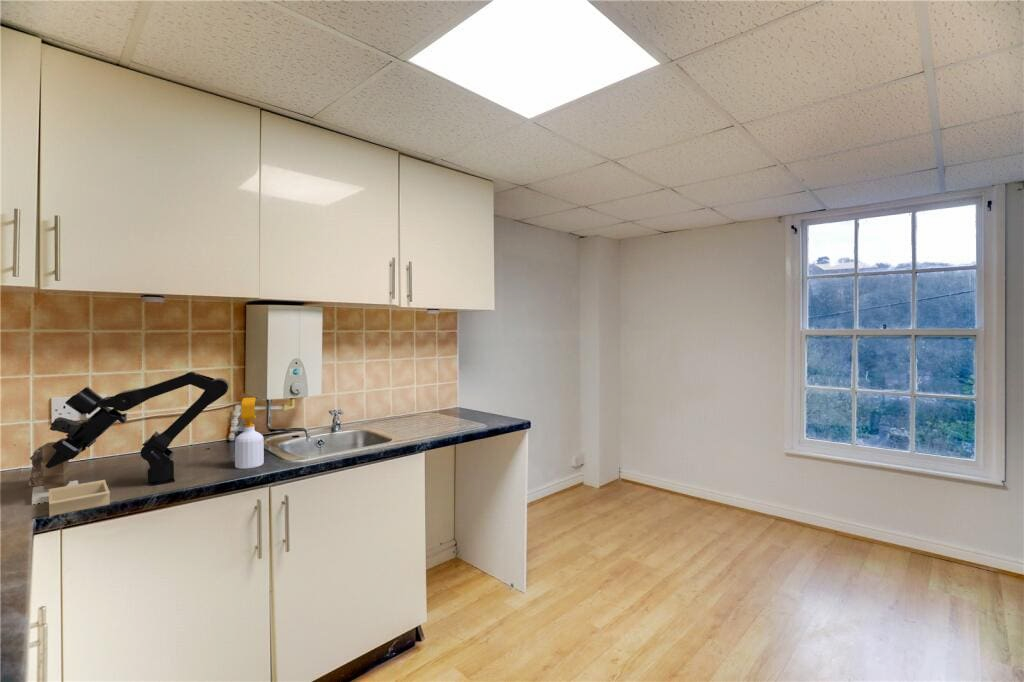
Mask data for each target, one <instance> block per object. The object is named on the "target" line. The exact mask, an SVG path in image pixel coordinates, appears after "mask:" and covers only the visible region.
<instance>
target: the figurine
mask: <svg viewBox="0 0 1024 682" xmlns="http://www.w3.org/2000/svg"><path fill="white" fill-rule="evenodd" d="M42 446H43V445H41V446H39V447H38V448H36V449H35V450H34V451H33V454H32V456H30V457H29V460H31V465H32V466H31V467H32V468H31V470H30V476H29V479H28V486H29V485H30V487H32V486H35V487H39V486H42V485H43V457H42Z"/></svg>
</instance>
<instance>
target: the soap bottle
mask: <svg viewBox="0 0 1024 682" xmlns="http://www.w3.org/2000/svg"><path fill="white" fill-rule="evenodd" d="M256 399H257V397H244V398H242V401H241V420H244V421H245V422H246V424H244V425H243V432H241V433H239V434H238V435H237V436H236V437H235V439H234V466H235V468H236V469H240V470H245V469H246V470H249V469H255V468H258V467H260V466H263V465H264V462H265V461H264V458H265V456H264V453H265V451H264V450H265V449H264V442H265V440H264V438H265V437H264V436H263V434H261V433H260V432H258V431H256V430H255V424H254V423H253V421H254V419H256V418H257V415H255V414H256V412H255V411H256V410H255V409H256V408H255V405H256Z"/></svg>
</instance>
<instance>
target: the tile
mask: <svg viewBox="0 0 1024 682" xmlns="http://www.w3.org/2000/svg"><path fill="white" fill-rule="evenodd" d="M76 484H80V483H79V481H78V480H77V479H76V480H69V484H68V485H67V486H70V485H76ZM31 494H32V495H31V506H34V505H33V504H35V505H39V504H38V503H40V504H45V503H44V502H46V503H49V490H43V486H35V487H32V493H31Z"/></svg>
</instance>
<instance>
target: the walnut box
mask: <svg viewBox="0 0 1024 682" xmlns="http://www.w3.org/2000/svg"><path fill="white" fill-rule="evenodd" d="M56 442H57V441H51V442H50V441H49V442H47V443H44V444H43V445H41V446H42V457H43V490H49V489H52V488H58V487H64V486H67V485H68V484H69V482H70V469H69V467H70V465H69V463H70V462H69V461H70V460H67V461H65V462H63V463H60V464H58V465H56V466H53V467H51V468H46V467H45V466H46V464H47V463H48V462H49V460H50V459H51V458H52V457H53V455H54V454H55V452H56V449H54V448H53V447H52V445H54V444H55V443H56Z"/></svg>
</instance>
